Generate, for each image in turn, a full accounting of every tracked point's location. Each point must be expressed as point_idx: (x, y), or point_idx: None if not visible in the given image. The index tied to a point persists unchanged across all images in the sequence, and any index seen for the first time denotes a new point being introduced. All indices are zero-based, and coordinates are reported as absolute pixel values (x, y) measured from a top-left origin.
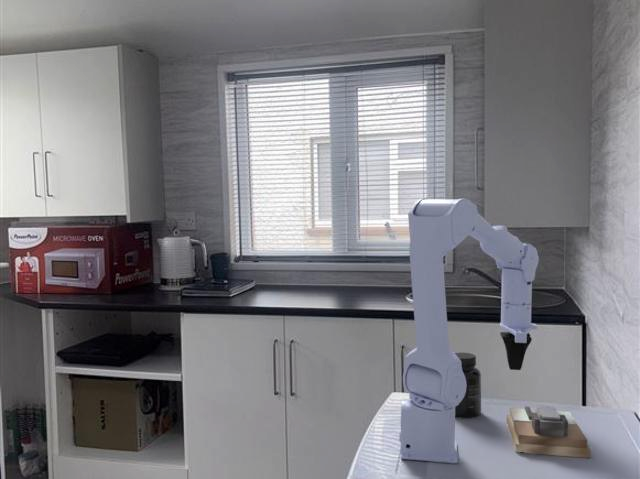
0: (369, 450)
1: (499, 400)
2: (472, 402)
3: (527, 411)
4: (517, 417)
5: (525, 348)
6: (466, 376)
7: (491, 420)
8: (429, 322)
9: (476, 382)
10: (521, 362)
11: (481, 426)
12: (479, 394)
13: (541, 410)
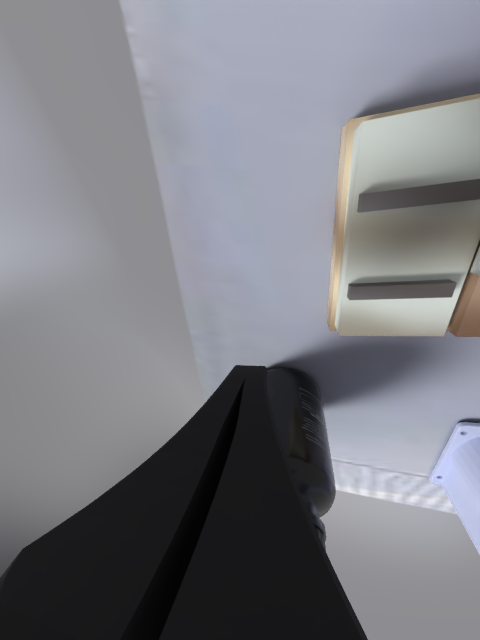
0: None
1: (190, 322)
2: (322, 411)
3: (400, 297)
4: (422, 324)
5: (304, 510)
6: (334, 496)
7: (318, 349)
8: None
9: (319, 453)
10: (267, 395)
11: (357, 370)
12: (305, 410)
13: None
